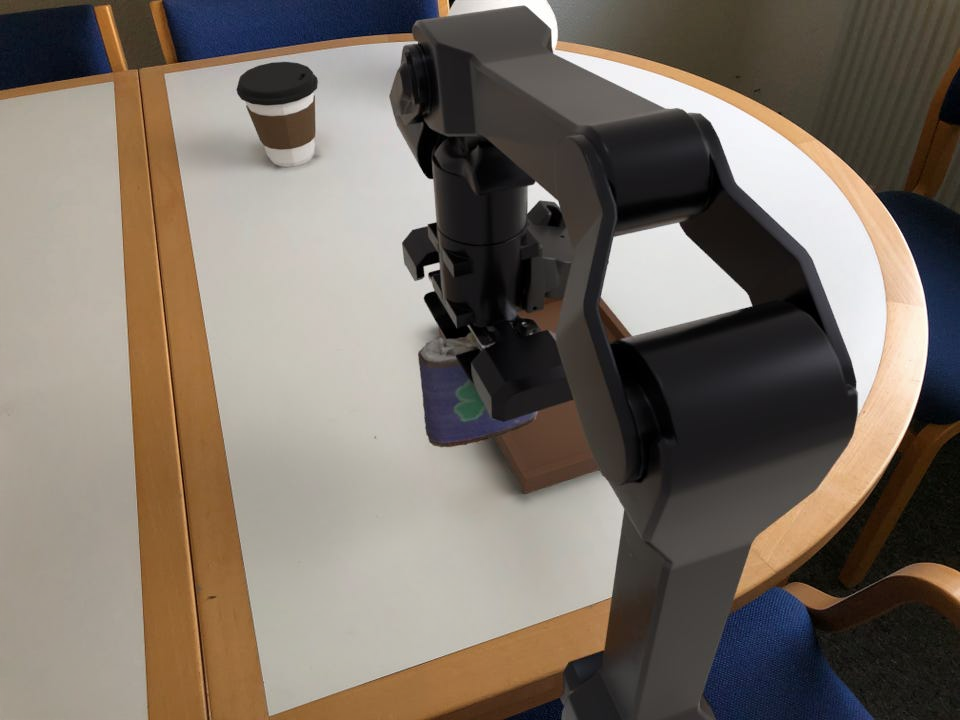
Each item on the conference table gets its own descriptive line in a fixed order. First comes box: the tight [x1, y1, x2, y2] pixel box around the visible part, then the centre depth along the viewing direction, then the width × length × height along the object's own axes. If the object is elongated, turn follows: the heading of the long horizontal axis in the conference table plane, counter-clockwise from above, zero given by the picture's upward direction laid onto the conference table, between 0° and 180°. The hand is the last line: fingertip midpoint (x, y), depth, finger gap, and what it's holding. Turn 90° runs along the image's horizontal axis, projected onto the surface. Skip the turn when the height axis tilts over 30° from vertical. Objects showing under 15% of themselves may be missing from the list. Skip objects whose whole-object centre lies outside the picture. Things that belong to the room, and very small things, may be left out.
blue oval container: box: [417, 326, 538, 449], centre depth 59 cm, size 9×3×11 cm, turn 108°
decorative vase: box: [446, 0, 559, 53], centre depth 121 cm, size 18×18×25 cm
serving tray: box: [437, 297, 633, 495], centre depth 79 cm, size 24×18×2 cm
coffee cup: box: [236, 61, 319, 168], centre depth 111 cm, size 11×11×12 cm
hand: (486, 393), depth 60 cm, fingers closed on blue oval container, 3 cm apart
